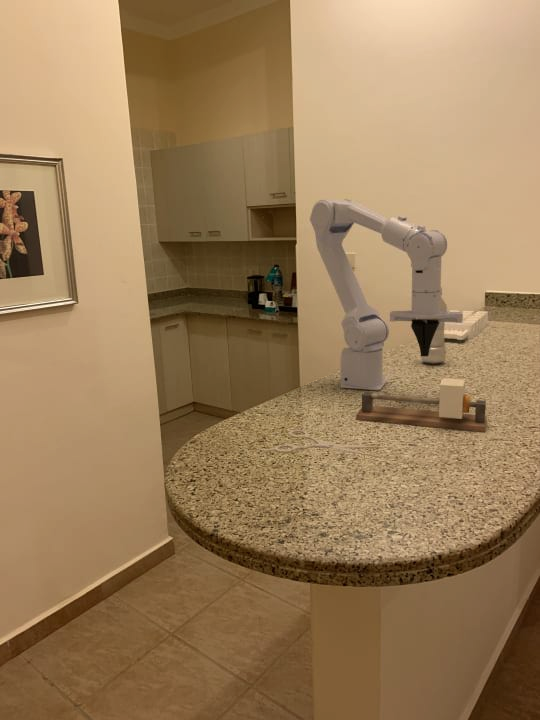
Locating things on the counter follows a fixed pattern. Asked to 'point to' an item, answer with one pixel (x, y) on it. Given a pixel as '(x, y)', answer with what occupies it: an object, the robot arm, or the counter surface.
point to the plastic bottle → (437, 341)
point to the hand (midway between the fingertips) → (424, 355)
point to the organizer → (466, 325)
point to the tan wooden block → (451, 398)
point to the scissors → (317, 445)
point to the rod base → (422, 413)
